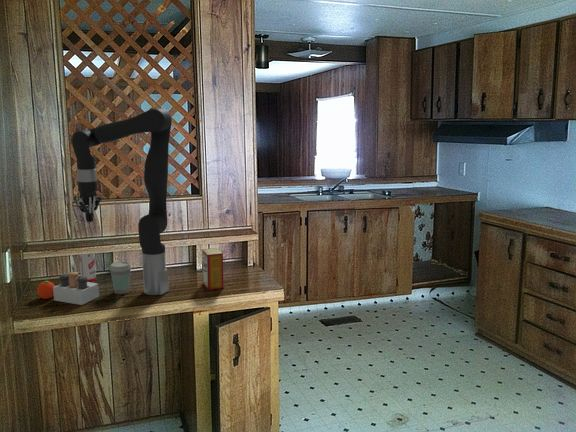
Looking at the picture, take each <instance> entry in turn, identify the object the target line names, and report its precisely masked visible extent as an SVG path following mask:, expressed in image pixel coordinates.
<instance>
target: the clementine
mask: <svg viewBox="0 0 576 432" xmlns="http://www.w3.org/2000/svg"><path fill="white" fill-rule="evenodd" d="M55 286H56V285H55V284H54V282H51V281H49V280H44V281H42V282H41V283H39V284H38V286H37V288H36V293H37V295H38V296H39V297H40V298H41V299H44V300H47V299H51V298H52V297H54V293H53V287H55Z"/></svg>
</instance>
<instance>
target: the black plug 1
mask: <svg viewBox="0 0 576 432" xmlns="http://www.w3.org/2000/svg"><path fill="white" fill-rule="evenodd" d="M59 279H60V284H61V286H62V287H67V286H69V285H70V283H69V276H68V273H67V274H66V273H65V274H61V275H59Z"/></svg>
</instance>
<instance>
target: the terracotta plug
mask: <svg viewBox="0 0 576 432" xmlns="http://www.w3.org/2000/svg"><path fill="white" fill-rule="evenodd" d="M67 274H68V276H69V283H70V288H77V287H79V286H78V281H77V278H79V272H78V271H70V272H68V273H67Z"/></svg>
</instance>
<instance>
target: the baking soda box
mask: <svg viewBox="0 0 576 432" xmlns="http://www.w3.org/2000/svg"><path fill="white" fill-rule="evenodd" d="M201 256H202V257H201V259H202V260H201V261H202V285H203V286H204V285H205V286H204V287H205V288H206V290H207V291H208V290H210V291H214V290H213V289H217V290H222V289H221V288H223V289H224V253H223V252H222V251H221V250H220V249H219V248H218V247H212V248H203V249H201Z"/></svg>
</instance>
